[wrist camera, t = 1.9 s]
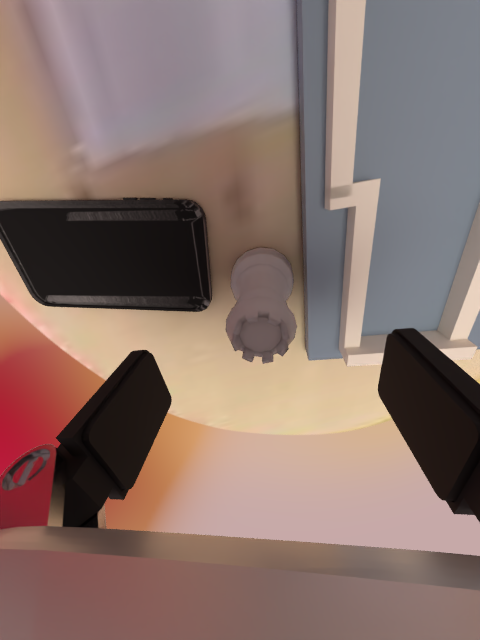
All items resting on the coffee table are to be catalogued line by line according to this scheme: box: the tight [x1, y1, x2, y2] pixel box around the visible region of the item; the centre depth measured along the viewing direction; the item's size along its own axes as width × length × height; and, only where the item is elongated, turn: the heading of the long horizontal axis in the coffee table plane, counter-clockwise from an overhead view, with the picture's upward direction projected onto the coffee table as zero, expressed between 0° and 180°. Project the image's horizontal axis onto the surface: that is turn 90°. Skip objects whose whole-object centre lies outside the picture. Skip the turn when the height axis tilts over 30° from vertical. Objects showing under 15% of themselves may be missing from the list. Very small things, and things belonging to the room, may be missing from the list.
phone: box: [0, 198, 212, 312], centre depth 16 cm, size 8×1×15 cm
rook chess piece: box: [226, 247, 297, 363], centre depth 13 cm, size 4×4×8 cm
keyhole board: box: [296, 0, 480, 366], centre depth 11 cm, size 22×12×4 cm, turn 10°
